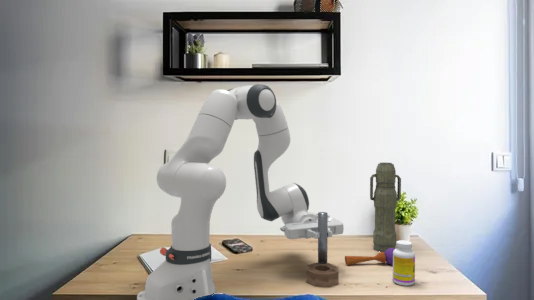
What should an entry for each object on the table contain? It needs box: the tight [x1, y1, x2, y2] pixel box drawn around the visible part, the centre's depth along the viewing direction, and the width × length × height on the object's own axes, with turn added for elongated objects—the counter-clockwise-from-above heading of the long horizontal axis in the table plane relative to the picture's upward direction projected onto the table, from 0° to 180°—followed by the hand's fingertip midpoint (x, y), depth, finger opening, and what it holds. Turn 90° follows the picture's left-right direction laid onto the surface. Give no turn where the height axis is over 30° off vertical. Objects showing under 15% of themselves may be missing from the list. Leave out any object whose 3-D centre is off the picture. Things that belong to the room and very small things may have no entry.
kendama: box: [344, 248, 395, 266], centre depth 138 cm, size 6×6×20 cm
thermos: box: [369, 162, 402, 253], centre depth 155 cm, size 9×12×35 cm
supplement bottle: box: [392, 239, 416, 287], centre depth 122 cm, size 7×7×13 cm
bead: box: [305, 262, 339, 288], centre depth 123 cm, size 10×10×4 cm
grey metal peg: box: [317, 211, 329, 264], centre depth 123 cm, size 3×3×16 cm
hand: (324, 235), depth 122 cm, fingers closed on grey metal peg, 3 cm apart
